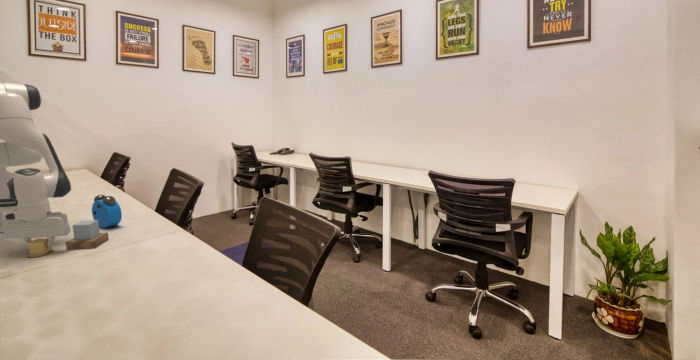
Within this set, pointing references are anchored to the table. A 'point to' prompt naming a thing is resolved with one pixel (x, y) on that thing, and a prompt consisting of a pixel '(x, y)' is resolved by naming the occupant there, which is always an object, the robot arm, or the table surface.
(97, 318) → the table surface
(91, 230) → the slate cube
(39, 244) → the mustard cube
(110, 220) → the alarm clock
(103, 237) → the walnut base
